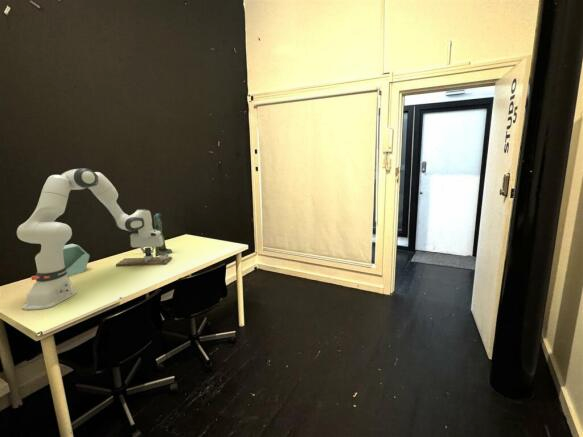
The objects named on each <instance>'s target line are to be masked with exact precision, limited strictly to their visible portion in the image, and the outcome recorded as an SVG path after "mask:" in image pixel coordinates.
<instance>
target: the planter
mask: <svg viewBox="0 0 583 437" xmlns="http://www.w3.org/2000/svg"><path fill="white" fill-rule="evenodd" d="M63 257H64V264H65V267H66V269H67V276H68V277H71V276H74V275H77V274H81V273H84V272H86V270H87V266H88V263H89V259H90V254H89V253H87V251H85V249H83V248H82V247H81V246H80V245H79V244H74V243H70V244H65V246H64V249H63Z"/></svg>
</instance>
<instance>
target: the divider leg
mask: <svg viewBox="0 0 583 437" xmlns="http://www.w3.org/2000/svg"><path fill="white" fill-rule="evenodd" d="M144 250H145V253H144V256H143V258H144V261H145V262H147V261H151V260H152V259H153V257H154V253H150V251H151V250H152V247H144Z"/></svg>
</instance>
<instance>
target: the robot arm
mask: <svg viewBox="0 0 583 437" xmlns="http://www.w3.org/2000/svg"><path fill="white" fill-rule="evenodd" d="M85 189H89V190H90V191H91V192H92V194H93V195H94V196H95V197H96V198H97V199H98V201H99V202H100V203H102V204H103V205H104V207H105V208H106V209H107V211H108V212H109V213H110V214H111V215H112V217H113V219H114V223H115V225H116V227H117V228H118V229H120V230H125V231H128V232H135V231H138V233H131V234H130V236H129V238H130V246H131V247H132V248H139V249H140V250H141V252H142V254H145V248H148V247H150V248H151V251H150V253H151V254H155V253H154V251H155V247H160V246H162V245H163V238H162V236H161V235H160V234H161V231H158V230H155V228H154V229H153V218H152V213H151V211H150V210H149V209H145V208H137V209H136V211H135V212H133V213H132V214H130V215H128V214H127V213H125V212H124V211H123V209H122V208H121V207H120V205H119V204H118V202H117V201H118V198H119V193H118V191H117V189H116V187H115V186H114V185H113V183H112V182H111V181H110V180H109V179H108V178H107V177H106V176H105V175H104V174H103V173H101V172H99V171H95V172H94V171H93V170H91V169H89V168H86V167H85V168H84V167H81V168H73V169H69V170H67V171H64V172H62V173H61V174H52V175H50V176H48V178H47V179H46V181H45V183H44V185H43V187H42V189H41V193H40V196H39V199H38V202H37V205H36V207H35V209H34V211H33V213H32V214H31V215H30V217H28V219H27V220H26V221H25V222H23V223H22V224H20V225H18V227H17V230H16V236H17V238H18V239H19V240H20V241H22V242H25V243H29V244H37V245H38V244H39V245H40V246H41V247H40V251H39V252H38V253H37V254H36V255H35V257H34V261H35V265H36V270H37V271H36V274H35V275H32V276H31V278H30V279H31V280H32V281H35V283H34V284H33V285H32V287H31V289H30V290H29V291H28V293H27V296H26V299H27V302H26V303H24V304H23V305H22V306H21V309H22V310H26V311H27V310H28V311H32V310H33V311H34V310H43V309H49V308H52V307H54V306H57V305H58V304H60V303H63V302H64V301H65V300H68V299H69V298H71V297H73V296H75V295H76V294H77V292H76V291H74V288H73V285H72V282H71V279H70V277H69V276H67V269H66V267H65V264H64V257H63V249H64V246H65V245H67V242H68V241H69V240H70V239H72V238H71V237H72V236H73V232H72V231H73V230H72V227H70V226H69V225H68V224H67V223H63V222H59V221H56V219H57V218H59V217H60V216H62V215H63V214H65V210H66V207H67V204H68V199H69V194H70V193H71V191H75V190H77V191H79V190H80V191H81V190H85ZM131 247H130V248H131Z"/></svg>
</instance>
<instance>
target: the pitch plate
mask: <svg viewBox="0 0 583 437" xmlns="http://www.w3.org/2000/svg"><path fill="white" fill-rule="evenodd" d="M172 259H173V257H172V256H169V254H165V253H162V255H158V256H156V257H155V256H153V259H152V260H151V261H147V262H145V261H144V257H129V258H125V257H124V258H123V259H121V260H120V261H119V262H117V263H115V267H117V268H118V267H120V268H121V267H137V266H138V267H139V266H140V267H141V266H142V267H143V266H164V265H168V263H169V262H170V261H171V260H172Z"/></svg>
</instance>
